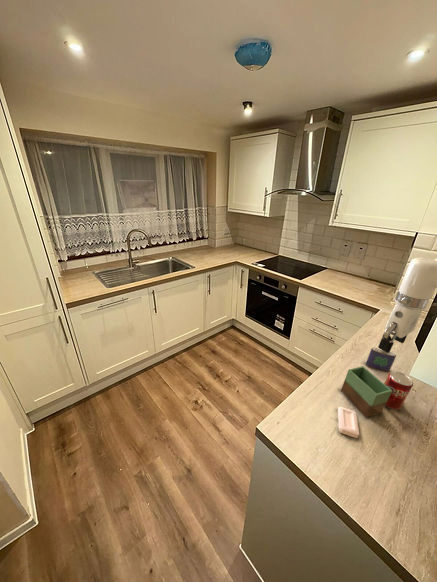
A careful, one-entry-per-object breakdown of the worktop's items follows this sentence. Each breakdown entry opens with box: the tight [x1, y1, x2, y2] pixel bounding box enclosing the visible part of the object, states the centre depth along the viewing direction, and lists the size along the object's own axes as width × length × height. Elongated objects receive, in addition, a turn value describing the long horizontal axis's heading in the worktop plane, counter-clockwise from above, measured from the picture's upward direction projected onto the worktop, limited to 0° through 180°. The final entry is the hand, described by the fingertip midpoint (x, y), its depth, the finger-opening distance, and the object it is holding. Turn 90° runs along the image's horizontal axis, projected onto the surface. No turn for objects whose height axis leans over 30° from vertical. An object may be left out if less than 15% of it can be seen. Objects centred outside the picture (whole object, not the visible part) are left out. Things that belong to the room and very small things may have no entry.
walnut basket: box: [340, 380, 387, 419], centre depth 86 cm, size 12×7×6 cm, turn 17°
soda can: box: [383, 370, 414, 410], centre depth 85 cm, size 7×7×12 cm
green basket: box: [344, 365, 392, 407], centre depth 84 cm, size 12×7×6 cm, turn 17°
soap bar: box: [337, 406, 360, 439], centre depth 79 cm, size 5×9×2 cm, turn 159°
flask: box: [365, 347, 397, 373], centre depth 102 cm, size 9×3×11 cm, turn 66°
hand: (390, 345), depth 77 cm, fingers open, 9 cm apart
